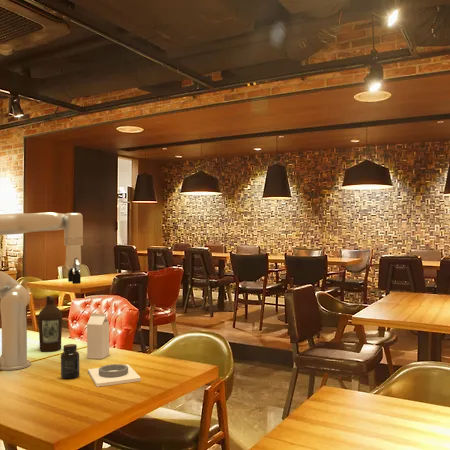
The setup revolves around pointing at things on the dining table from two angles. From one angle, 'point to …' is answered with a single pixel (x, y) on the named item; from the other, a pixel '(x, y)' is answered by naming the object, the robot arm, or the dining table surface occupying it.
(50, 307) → the olive oil
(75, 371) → the supplement bottle
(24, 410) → the dining table surface
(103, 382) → the dock
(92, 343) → the milk carton
